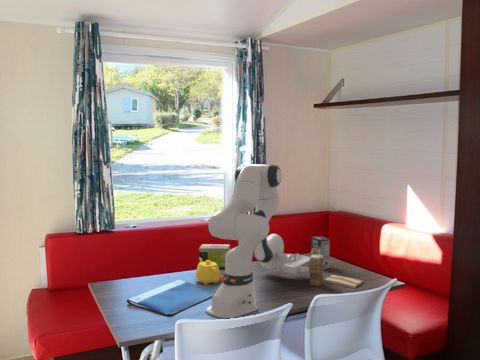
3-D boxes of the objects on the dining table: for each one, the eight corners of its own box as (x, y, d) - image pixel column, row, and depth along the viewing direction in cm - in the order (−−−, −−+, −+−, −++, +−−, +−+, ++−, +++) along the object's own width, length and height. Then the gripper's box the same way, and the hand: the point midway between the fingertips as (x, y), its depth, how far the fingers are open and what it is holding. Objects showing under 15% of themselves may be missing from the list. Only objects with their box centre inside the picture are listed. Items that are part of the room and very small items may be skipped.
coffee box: (310, 265, 260) (310, 236, 258) (319, 264, 262) (320, 235, 261) (319, 269, 251) (320, 240, 250) (329, 268, 254) (330, 238, 253)
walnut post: (318, 286, 224) (318, 257, 223) (309, 284, 227) (310, 256, 225) (322, 284, 228) (323, 255, 226) (314, 282, 231) (314, 254, 229)
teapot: (189, 278, 237) (189, 257, 236) (209, 275, 242) (209, 254, 241) (205, 288, 221) (205, 266, 220) (226, 285, 227) (226, 263, 226)
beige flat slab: (354, 287, 222) (354, 285, 222) (323, 281, 232) (323, 279, 232) (362, 282, 230) (362, 280, 230) (332, 276, 240) (332, 274, 240)
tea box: (230, 271, 249) (230, 243, 247) (228, 277, 239) (228, 248, 237) (202, 270, 250) (202, 243, 249) (198, 276, 240) (198, 247, 239)
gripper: (277, 261, 227) (303, 266, 219) (298, 252, 243) (323, 256, 235) (277, 274, 227) (303, 279, 219) (298, 264, 244) (322, 269, 236)
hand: (313, 267), depth 227 cm, fingers open, 8 cm apart
